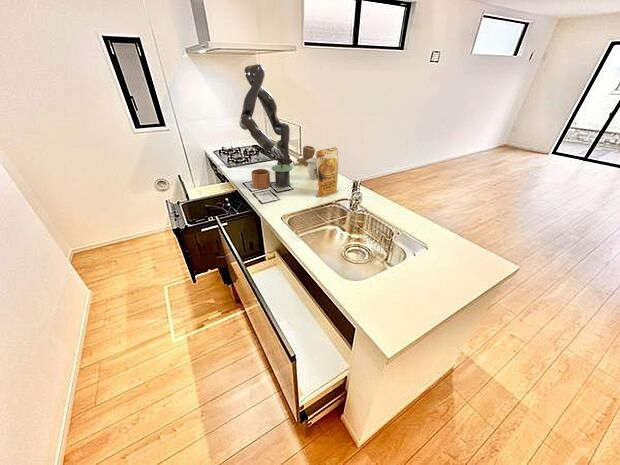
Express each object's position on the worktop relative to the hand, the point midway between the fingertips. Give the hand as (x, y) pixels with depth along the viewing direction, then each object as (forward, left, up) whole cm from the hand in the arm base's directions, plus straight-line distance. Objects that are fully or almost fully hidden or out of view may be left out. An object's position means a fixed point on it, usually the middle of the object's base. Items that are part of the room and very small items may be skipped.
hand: (284, 162), depth 168 cm
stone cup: (-30, -37, -16) cm, 51 cm away
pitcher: (-25, -5, -16) cm, 30 cm away
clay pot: (+16, -4, -15) cm, 22 cm away
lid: (+2, -1, -4) cm, 5 cm away
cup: (+2, -1, -15) cm, 15 cm away
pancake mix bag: (-20, +23, -16) cm, 34 cm away
